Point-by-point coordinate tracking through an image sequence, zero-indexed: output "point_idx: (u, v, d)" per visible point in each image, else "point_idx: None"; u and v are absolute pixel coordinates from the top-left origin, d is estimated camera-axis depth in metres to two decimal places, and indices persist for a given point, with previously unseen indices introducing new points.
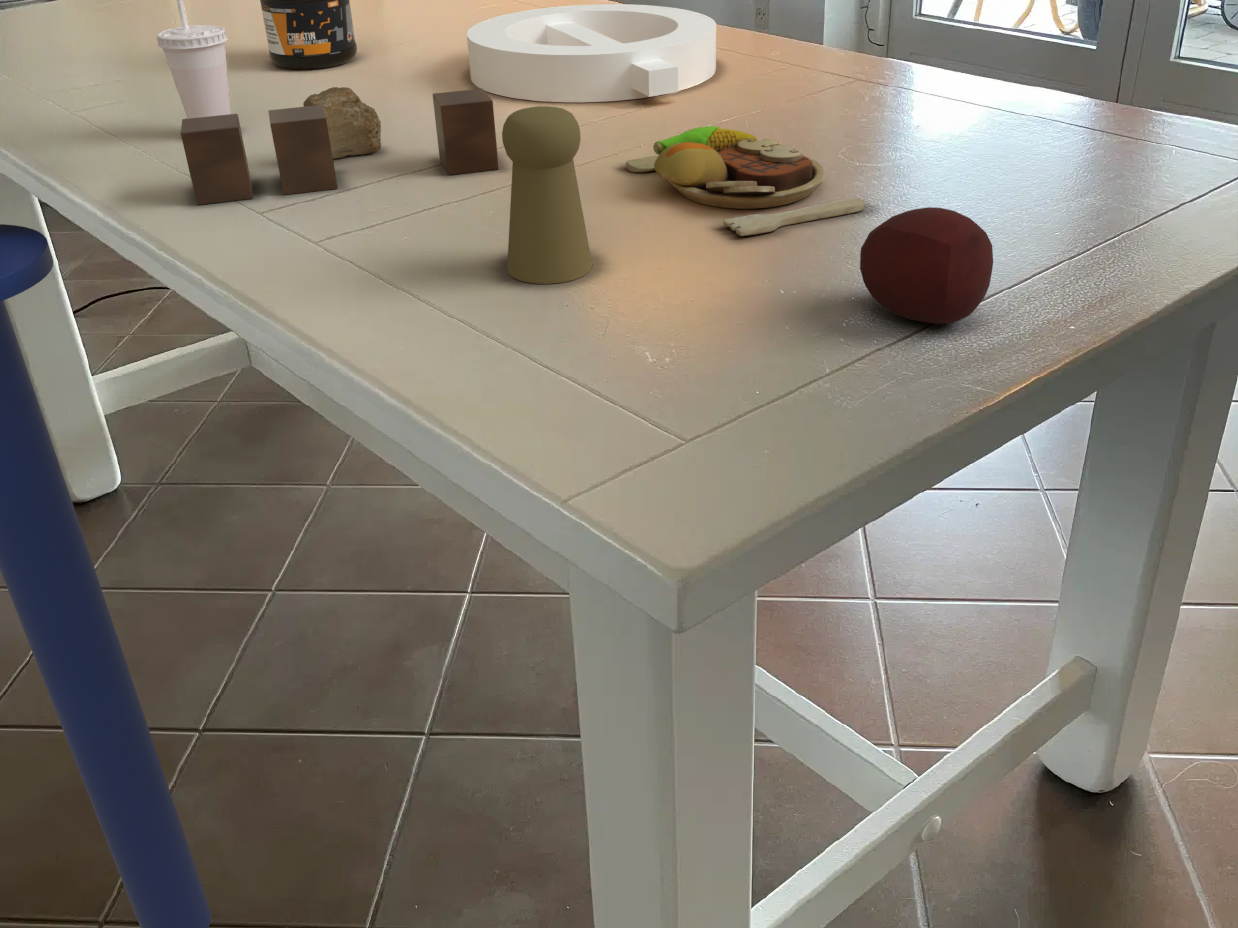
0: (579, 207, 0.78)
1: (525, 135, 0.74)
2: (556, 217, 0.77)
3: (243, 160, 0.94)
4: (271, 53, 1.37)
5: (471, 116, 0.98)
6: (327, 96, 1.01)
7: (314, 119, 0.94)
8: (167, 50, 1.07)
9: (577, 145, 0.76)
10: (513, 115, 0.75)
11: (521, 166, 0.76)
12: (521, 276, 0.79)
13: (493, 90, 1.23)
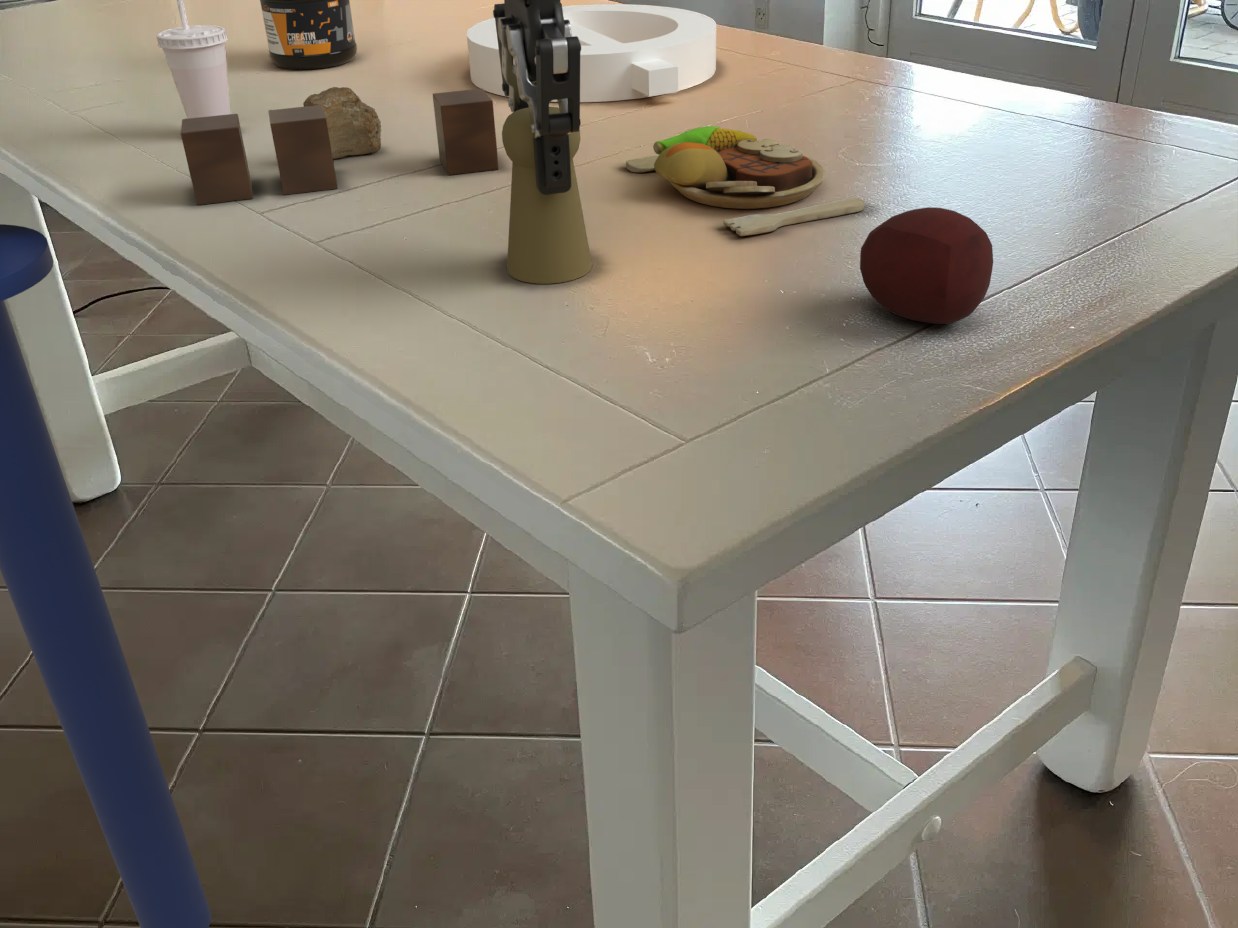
0: (579, 207, 0.78)
1: (525, 135, 0.74)
2: (556, 217, 0.77)
3: (243, 160, 0.94)
4: (271, 53, 1.37)
5: (471, 116, 0.98)
6: (327, 96, 1.01)
7: (314, 119, 0.94)
8: (167, 50, 1.07)
9: (577, 145, 0.76)
10: (513, 115, 0.75)
11: (521, 166, 0.76)
12: (521, 276, 0.79)
13: (493, 90, 1.23)
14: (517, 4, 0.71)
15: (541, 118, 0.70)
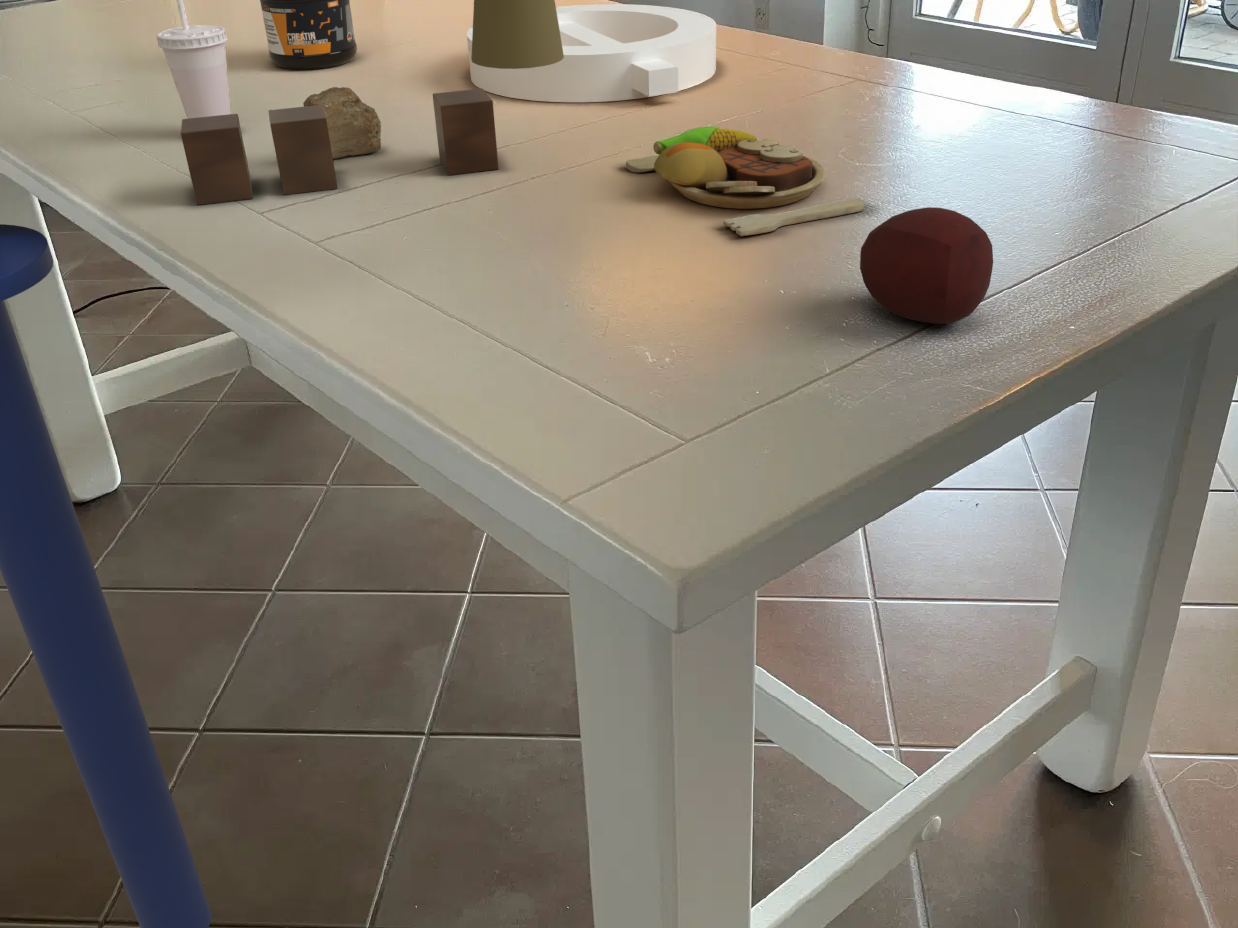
0: None
1: None
2: None
3: (243, 160, 0.94)
4: (271, 53, 1.37)
5: (471, 116, 0.98)
6: (327, 96, 1.01)
7: (314, 119, 0.94)
8: (167, 50, 1.07)
9: None
10: None
11: None
12: (485, 61, 0.73)
13: (493, 90, 1.23)
14: None
15: None
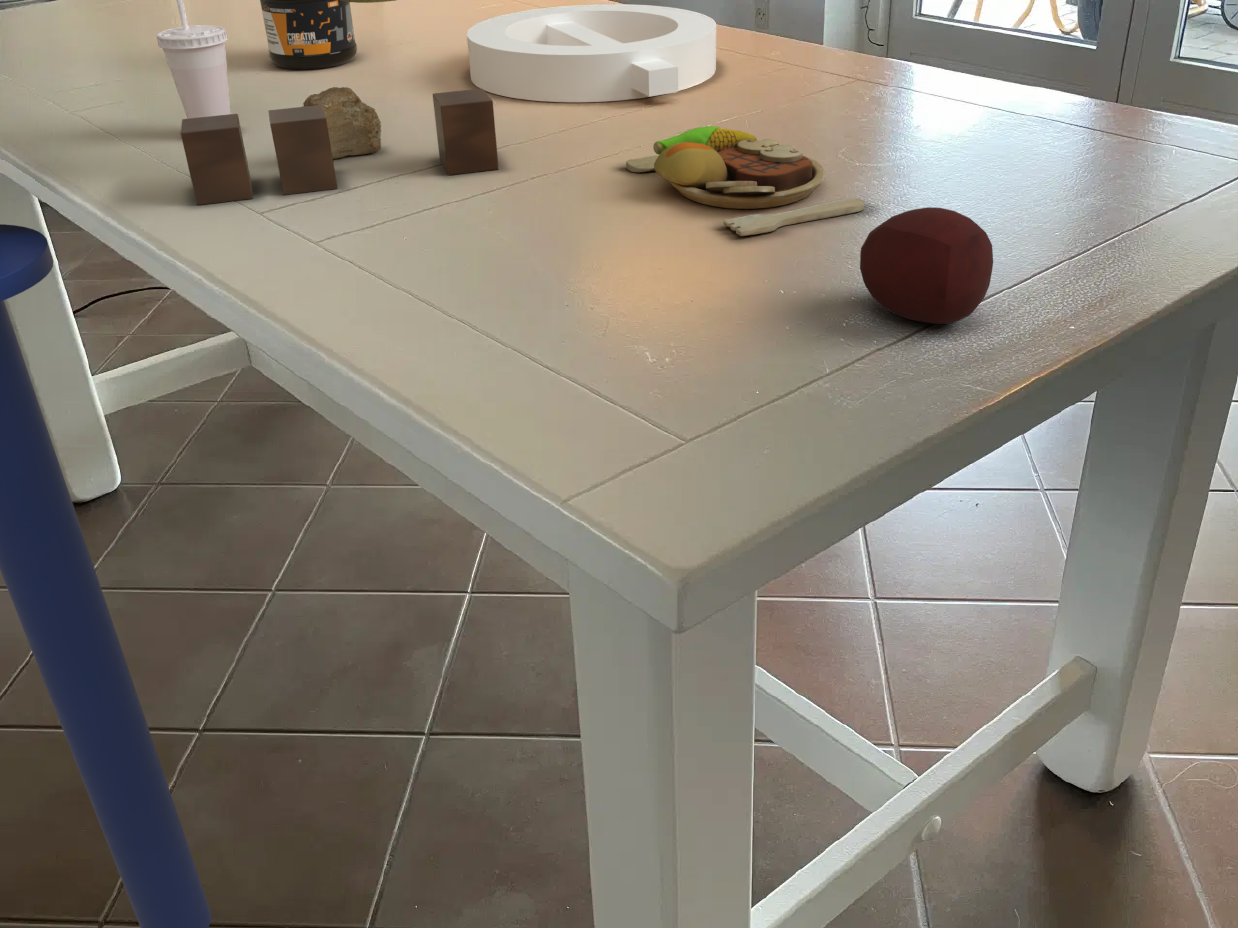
0: None
1: None
2: None
3: (243, 160, 0.94)
4: (271, 53, 1.37)
5: (471, 116, 0.98)
6: (327, 96, 1.01)
7: (314, 119, 0.94)
8: (167, 50, 1.07)
9: None
10: None
11: None
12: None
13: (493, 90, 1.23)
14: None
15: None
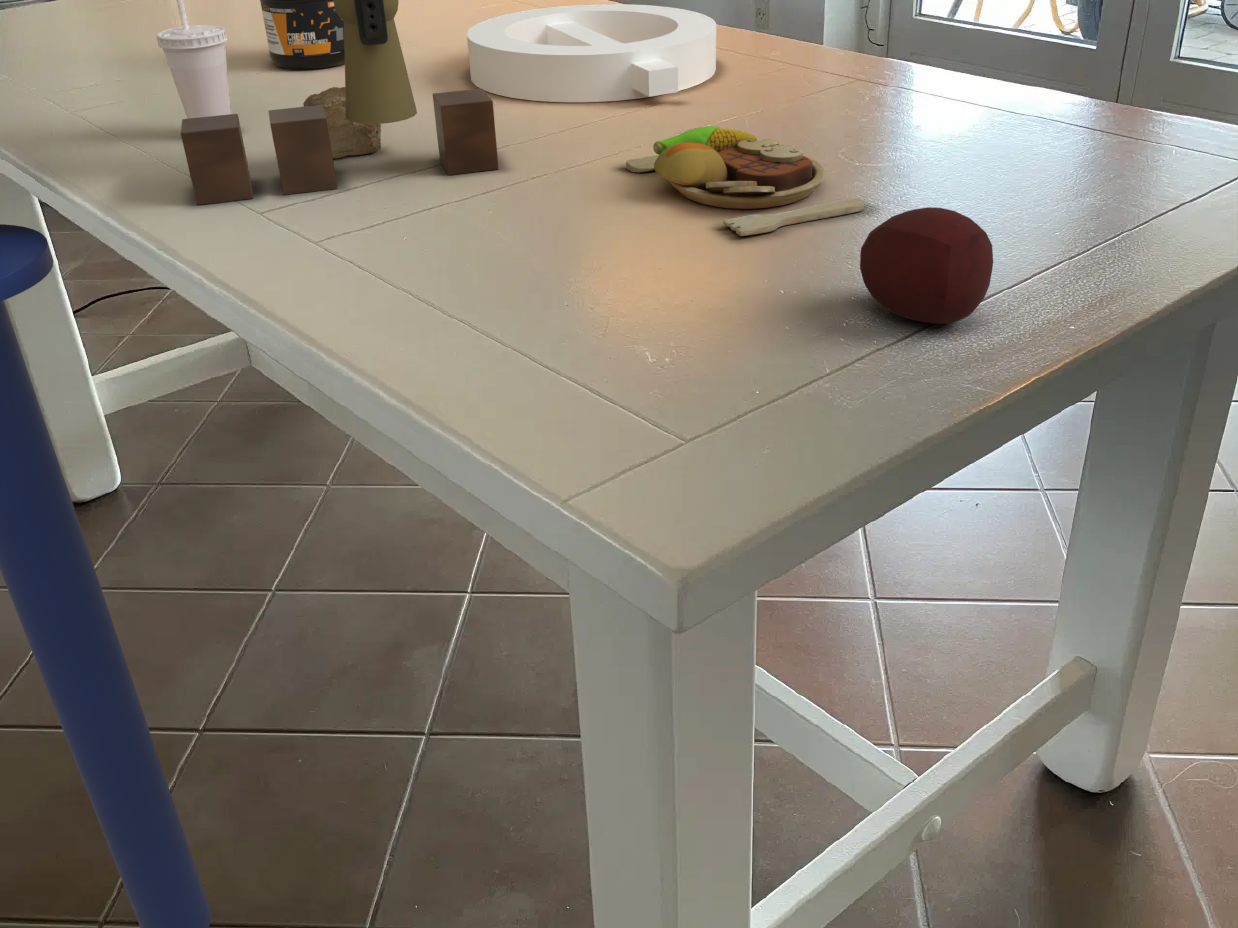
0: (400, 60, 0.95)
1: None
2: (379, 66, 0.93)
3: (243, 160, 0.94)
4: (271, 53, 1.37)
5: (471, 116, 0.98)
6: (327, 96, 1.01)
7: (314, 119, 0.94)
8: (167, 50, 1.07)
9: (394, 6, 0.92)
10: None
11: (348, 23, 0.92)
12: (354, 118, 0.96)
13: (493, 90, 1.23)
14: None
15: None
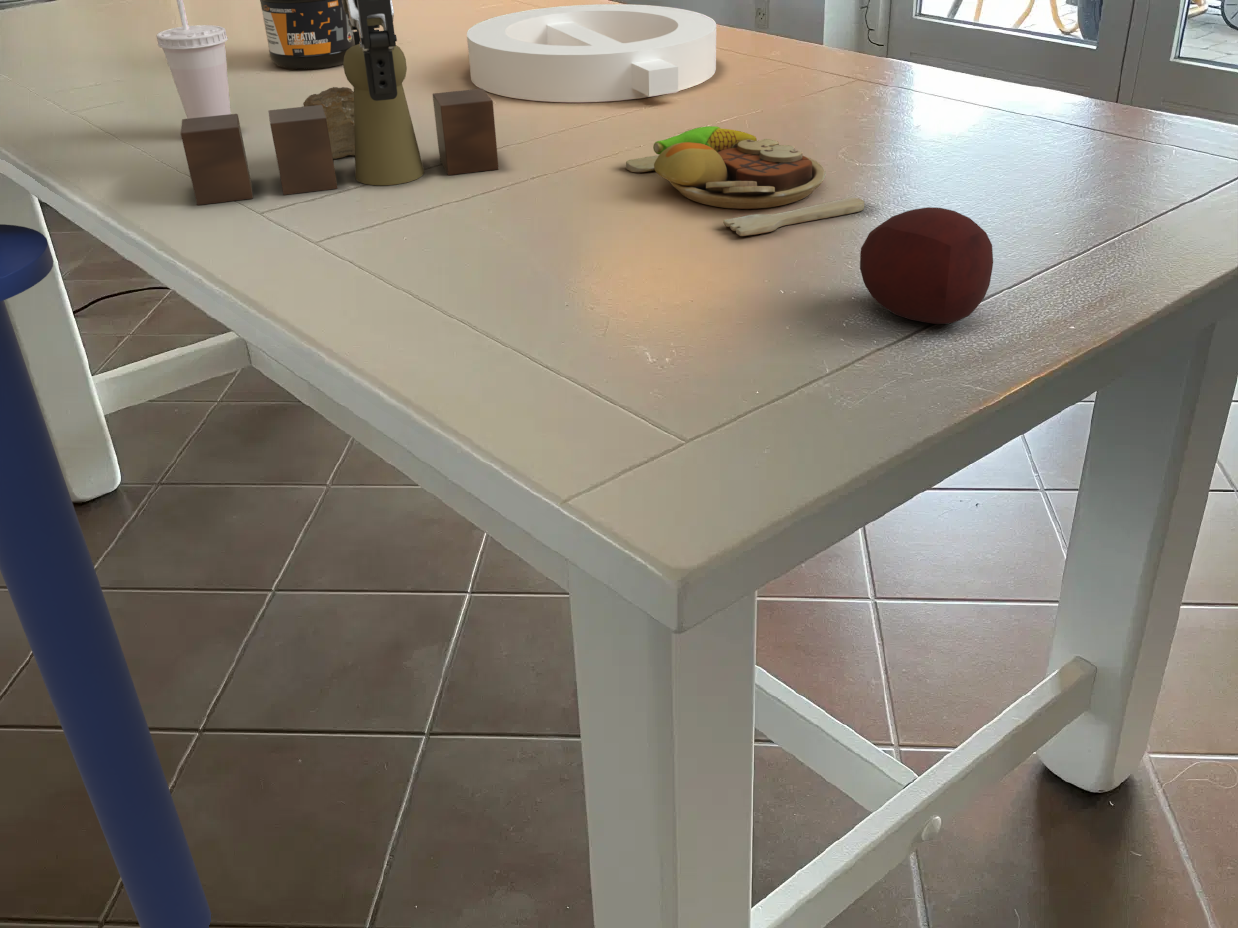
0: (409, 123, 0.97)
1: (358, 63, 0.93)
2: (388, 130, 0.96)
3: (243, 160, 0.94)
4: (271, 53, 1.37)
5: (471, 116, 0.98)
6: (327, 96, 1.01)
7: (314, 119, 0.94)
8: (167, 50, 1.07)
9: (403, 72, 0.95)
10: (351, 48, 0.94)
11: (358, 88, 0.95)
12: (363, 179, 0.98)
13: (493, 90, 1.23)
14: None
15: (362, 31, 0.87)
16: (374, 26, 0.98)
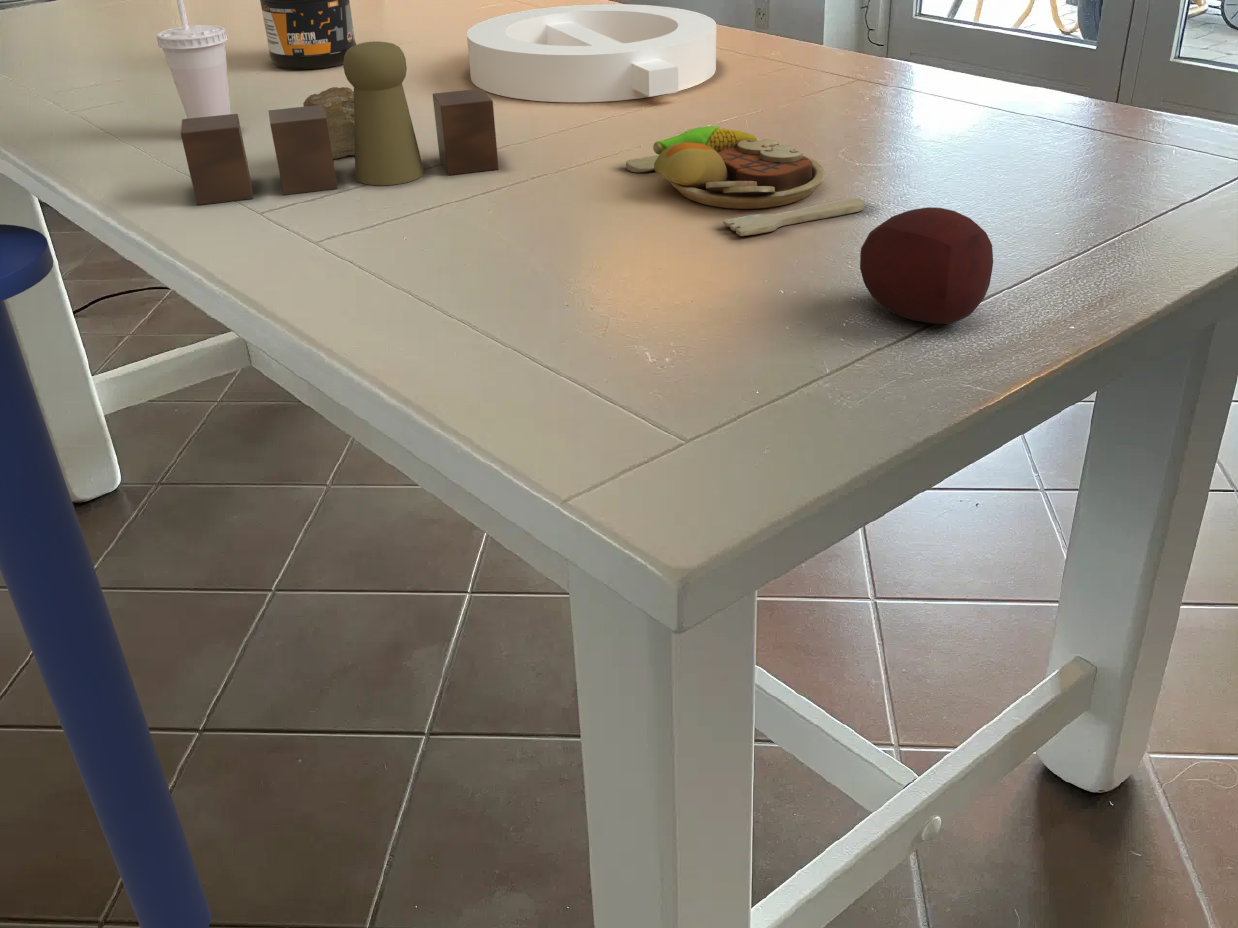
0: (409, 123, 0.97)
1: (358, 63, 0.93)
2: (388, 130, 0.96)
3: (243, 160, 0.94)
4: (271, 53, 1.37)
5: (471, 116, 0.98)
6: (327, 96, 1.01)
7: (314, 119, 0.94)
8: (167, 50, 1.07)
9: (403, 72, 0.95)
10: (351, 48, 0.94)
11: (358, 88, 0.95)
12: (363, 179, 0.98)
13: (493, 90, 1.23)
14: None
15: None
16: None
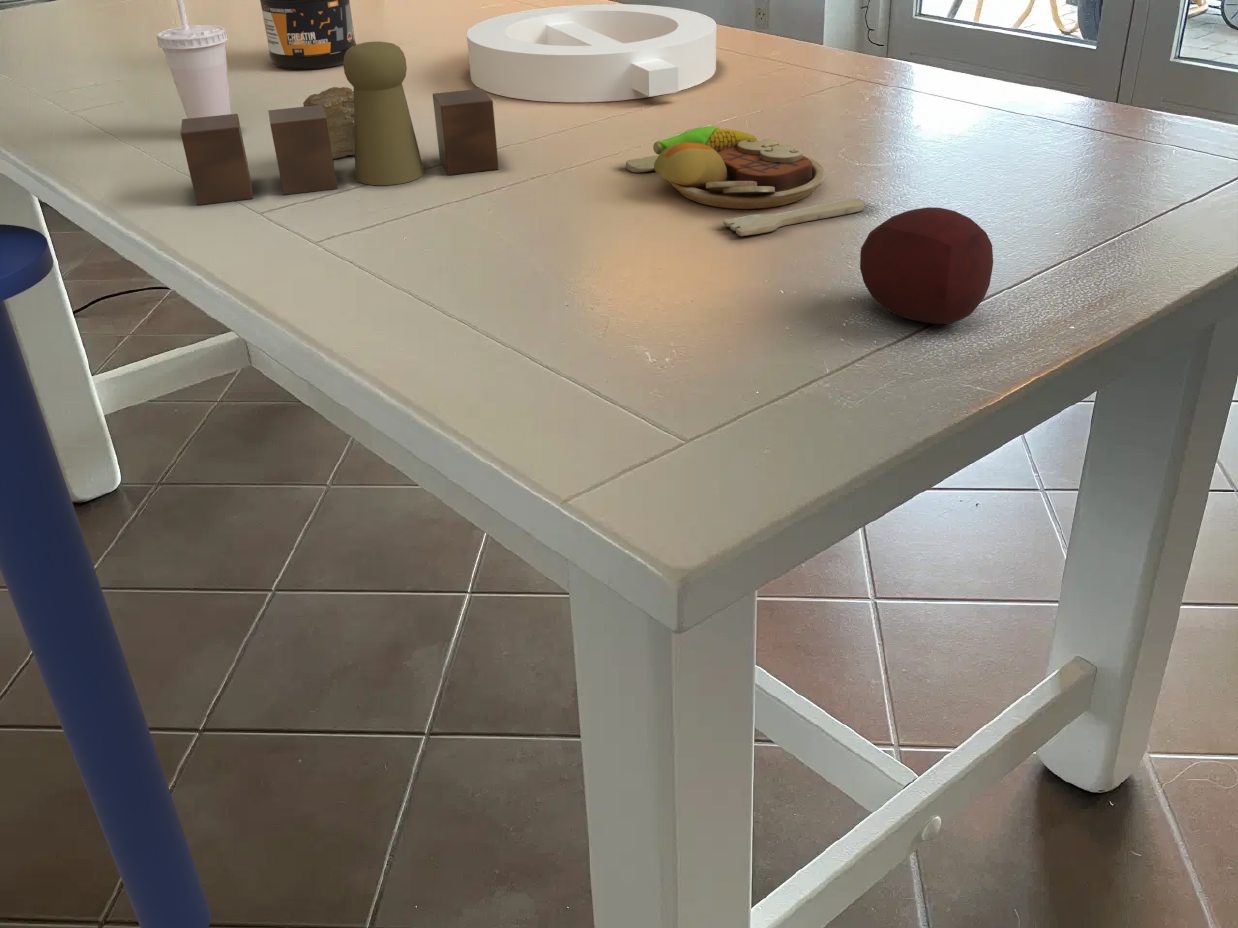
0: (408, 123, 0.97)
1: (358, 63, 0.93)
2: (388, 130, 0.96)
3: (243, 160, 0.94)
4: (271, 53, 1.37)
5: (471, 116, 0.98)
6: (327, 96, 1.01)
7: (314, 119, 0.94)
8: (167, 50, 1.07)
9: (403, 72, 0.95)
10: (351, 48, 0.94)
11: (358, 88, 0.95)
12: (363, 179, 0.98)
13: (493, 90, 1.23)
14: None
15: None
16: None
